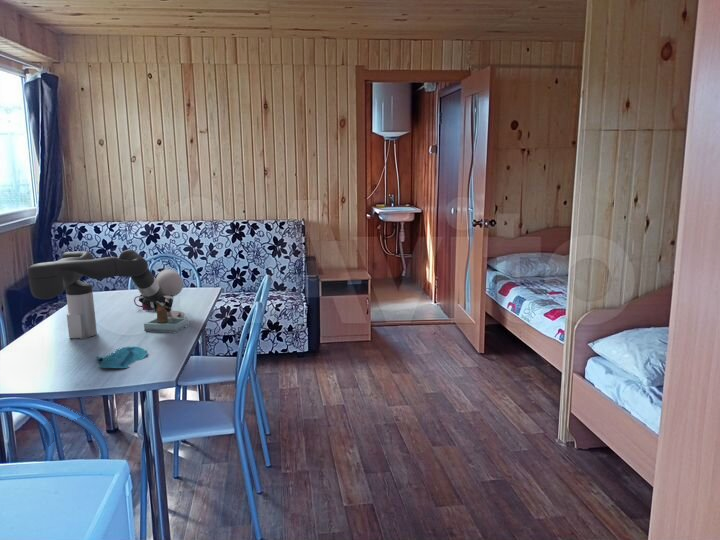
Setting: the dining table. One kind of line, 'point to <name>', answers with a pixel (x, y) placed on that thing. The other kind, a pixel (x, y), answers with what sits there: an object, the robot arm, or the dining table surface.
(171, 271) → the light fixture
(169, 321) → the bin
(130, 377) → the dining table surface
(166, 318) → the dowel
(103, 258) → the robot arm
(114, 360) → the mineral
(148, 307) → the mug
